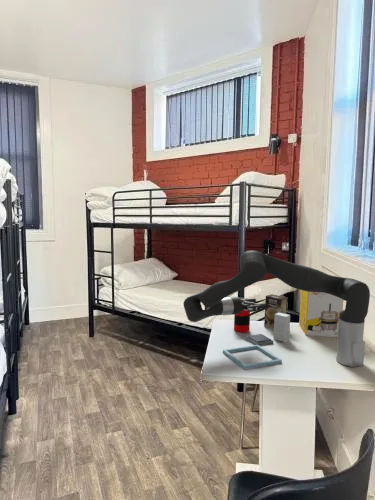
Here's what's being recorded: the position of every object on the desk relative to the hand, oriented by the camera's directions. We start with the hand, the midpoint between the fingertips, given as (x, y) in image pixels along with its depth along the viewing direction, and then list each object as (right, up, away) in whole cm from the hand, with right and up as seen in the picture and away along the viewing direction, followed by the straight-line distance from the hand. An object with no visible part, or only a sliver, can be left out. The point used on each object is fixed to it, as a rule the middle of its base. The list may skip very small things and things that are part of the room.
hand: (260, 303), depth 162 cm
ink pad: (0, -18, +4) cm, 18 cm away
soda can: (-6, -16, +18) cm, 25 cm away
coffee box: (+12, -16, +25) cm, 32 cm away
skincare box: (+11, -18, +7) cm, 22 cm away
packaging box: (+33, -17, +20) cm, 43 cm away
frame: (-7, -20, -15) cm, 26 cm away
